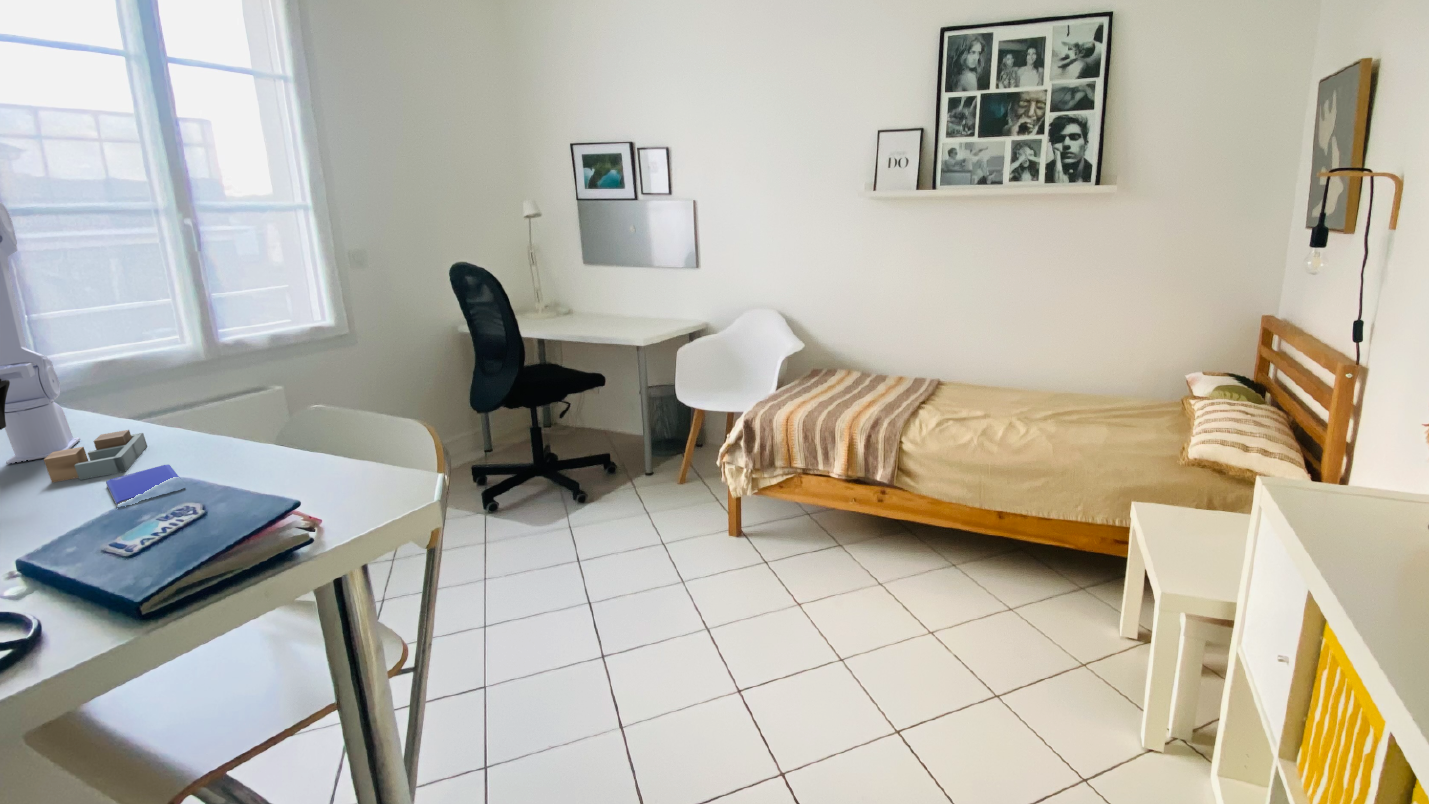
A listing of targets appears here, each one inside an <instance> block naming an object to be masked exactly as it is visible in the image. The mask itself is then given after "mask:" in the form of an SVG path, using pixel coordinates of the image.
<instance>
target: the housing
mask: <svg viewBox="0 0 1429 804" xmlns="http://www.w3.org/2000/svg"><path fill="white" fill-rule="evenodd" d="M131 437H132V439H131V440H130V441H129V442H128V443H127V444H126V445H121V446H116V447H110V448H105V449H99V450H96V449H94V450H90V451H88V452H87V455H88V456H87V457H88V459H89V460H88V461H87V462H82V463H76V464H75V465H74V466H75V469H76V471H77V474H78V477H79V478H78V479H79V481H83V480H88V479H93V478H98V477H103V476H109V475H114V474H119V473H124V472H127V470H129V468H130V467H131V466H132V465H133V464H134V462H136V460H137V459H138V458H139V456H141V454H142V453H143V452H144V450H146V448H147V447H148V443H147V441H146V437H145V435H144V432H139V433H135V434H131Z"/></svg>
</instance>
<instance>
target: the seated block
mask: <svg viewBox="0 0 1429 804" xmlns="http://www.w3.org/2000/svg"><path fill="white" fill-rule="evenodd" d="M131 435H132V434H131V431H130V429H125V430H119V431H114V432H107V433H102V434H100V435H99V436H97V438H95V439H94V440H93V444H94V447H95V450H99V449H105V448H110V447H116V446H121V445H126V444H127V443H128V442H129V441H130V440H131V439H132V437H131Z"/></svg>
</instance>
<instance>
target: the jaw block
mask: <svg viewBox="0 0 1429 804" xmlns="http://www.w3.org/2000/svg"><path fill="white" fill-rule="evenodd" d="M87 455H88V454H87V452H86V450H85V447H84V446H81V447H80V446H79V447H74V448H73V447H72V448H70V449H67V450H61V451H55V452H52V453H51V454H50V455H48V456H47V457H45V458H43V461H44V465H45V467H46V471H47V473H48V475H49V478H50V481H51V483H57V482H62V481H63V482H64V481H68V480H74V479H79V477H78V474H77V471H76V469H75V466H74V465H75V464H76V463H82V462H87V461H89V457H88V456H87Z"/></svg>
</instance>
